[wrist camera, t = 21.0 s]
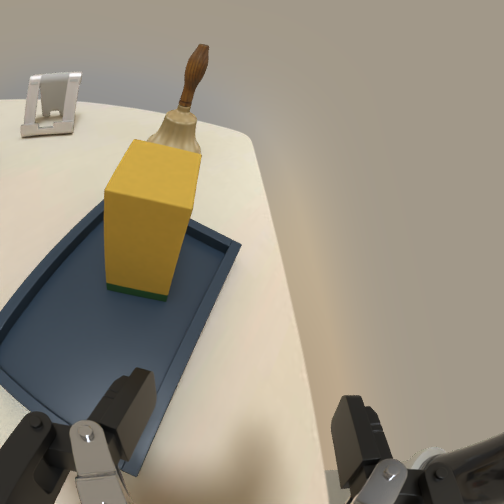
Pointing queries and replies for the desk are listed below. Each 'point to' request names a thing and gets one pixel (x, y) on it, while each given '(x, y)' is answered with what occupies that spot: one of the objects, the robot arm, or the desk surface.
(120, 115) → the desk surface
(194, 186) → the sponge
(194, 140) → the hand bell
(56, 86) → the tablet stand
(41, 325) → the tray
